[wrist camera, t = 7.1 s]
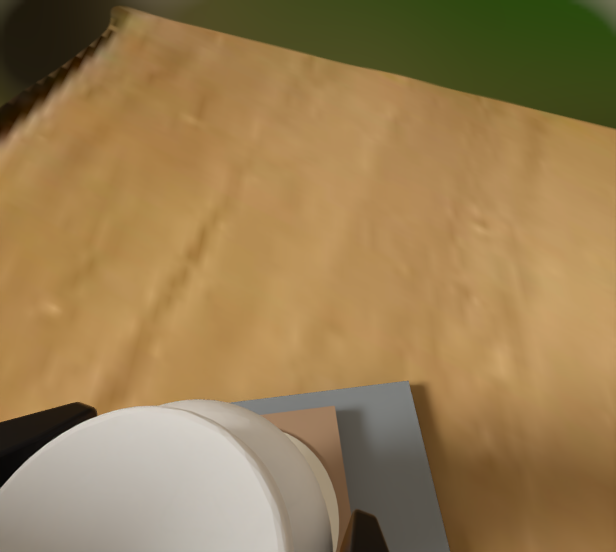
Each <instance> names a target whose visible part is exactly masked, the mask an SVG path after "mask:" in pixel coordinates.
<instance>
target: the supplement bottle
mask: <svg viewBox="0 0 616 552" xmlns="http://www.w3.org/2000/svg"><path fill="white" fill-rule="evenodd" d="M0 552H333V541H332V533H331V524H330V520H329V515H328V511H327V507H326V503H325V500H324V498H323V495H322V492H321V489H320V486H319V483H318V481H317V479H316V477H315V475H314V473H313V471H312V469H311V467H310V465H309V463H308V462H307V461H306V459H305V457H304V456H303V454H302V453H301V452H300V450H299V449H298V448H297V447H296V445H295V444H294V443H293V442H292V441H291V440H290V439H289V438H288V437H287V436H286V435H285V434H284V433H283V432H282V431H281V430H280V429H279V428H278V427H277V426H275V425H274V424H272V423H271V422H270V421H268V420H267V419H266V418H264V417H262V416H261V415H259V414H257V413H255V412H253V411H250V410H248V409H246V408H243V407H241V406H238V405H234V404H231V403H227V402H222V401H216V400H202V399H195V400H183V401H176V402H171V403H166V404H163V405H160V406H137V407H130V408H124V409H119V410H116V411H112V412H109V413H105V414H102V415H100V416H97V417H94V418H91V419H89V420H87V421H85V422H82V423H80V424H78V425H76V426H75V427H73V428H71V429H69V430H68V431H66V432H64V433H62V434H61V435H59V436H58V437H56V438H55V439H53V440H52V441H50V442H49V443H47V444H46V445H45V446H43V447H42V448H41V449H40V450H39V451H37V452H36V453H35V454H34V455H33V456H31V457H30V458H29V459H28V460H27V461H26V462H25V463H24V464H23V465H22V466H21V467H20V468H19V469H18V470H17V471H15V473H14V474H13V475H12V476H11V477H10V478H9V479H8V480H7V482H6V483H5V484H4V485H3V486H2V487H1V488H0Z"/></svg>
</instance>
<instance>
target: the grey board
mask: <svg viewBox="0 0 616 552" xmlns="http://www.w3.org/2000/svg"><path fill="white" fill-rule="evenodd" d="M231 404H234V405H238V406H241V407H243V408H246V409H248V410H250V411H253V412H255V413H257V414H259V415H261V416H262V417H264V418H266V419H267V420H268V421H270V422H271V423H272V424H274V425H275V426H277V427H278V428H279V429H280V430H281V431H282V432H283V433H284V434H285V435H286V436H287V437H288V438H289V439H290V440H291V441H292V442H293V443H294V444H295V445H296V447H297V448H298V449H299V450H300V452H301V453H302V454H303V456H304V457H305V459H306V461H307V462H308V463H309V465H310V467H311V469H312V471H313V473H314V475H315V477H316V479H317V481H318V483H319V486H320V489H321V492H322V495H323V498H324V500H325V503H326V507H327V511H328V515H329V520H330V524H331V533H332V541H333V552H340V548H341V545H342V541H343V538H344V535H345V533H346V530H347V527H348V524H349V521H350V518H351V515H352V513H353V511H354V510H355V509H360V510H363V511H366V512H368V513H371V514H373V515H375V516H376V517H377V519H378V522H379V525H380V527H381V530H382V533H383V535H384V538H385V541H386V543H387V546H388V549H389V551H390V552H450V549H449V545H448V541H447V537H446V533H445V529H444V524H443V520H442V516H441V512H440V508H439V504H438V500H437V496H436V492H435V488H434V484H433V479H432V475H431V471H430V467H429V463H428V459H427V455H426V451H425V447H424V443H423V439H422V434H421V430H420V426H419V422H418V418H417V414H416V410H415V406H414V402H413V398H412V394H411V389H410V385H409V381H402V382H394V383H386V384H378V385H370V386H362V387H354V388H346V389H338V390H330V391H321V392H313V393H305V394H297V395H289V396H281V397H273V398H265V399H257V400H249V401H241V402H232V403H231Z"/></svg>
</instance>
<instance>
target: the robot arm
mask: <svg viewBox="0 0 616 552" xmlns="http://www.w3.org/2000/svg"><path fill="white" fill-rule="evenodd" d="M94 417H97V411H96V409H95V408H94V407H91V406H89V405H86V404H84V403H80V402H75V403H71V404H67V405H63V406H59V407H56V408H52V409H48V410H45V411H41V412H37V413H33V414H30V415H26V416H22V417H18V418H15V419H11V420H7V421H4V422H0V488H1V487H2V486H3V485H4V484H5V483H6V482H7V480H8V479H9V478H10V477H11V476H12V475H13V474H14V473H15V471H17V470H18V469H19V468H20V467H21V466H22V465H23V464H24V463H25V462H26V461H27V460H28V459H29V458H30V457H31V456H33V455H34V454H35V453H36V452H37V451H39V450H40V449H41V448H42V447H43V446H45V445H46V444H47V443H49V442H50V441H52V440H53V439H55V438H56V437H58V436H59V435H61V434H62V433H64V432H66V431H68V430H69V429H71V428H73V427H75V426H76V425H78V424H80V423H82V422H85V421H87V420H89V419H91V418H94ZM340 552H390V551H389V549H388V546H387V543H386V541H385V538H384V535H383V533H382V530H381V527H380V525H379V522H378V519H377V517H376V516H375V515H373V514H371V513H368V512H366V511H363V510H360V509H355V510H354V511H353V513H352V515H351V518H350V521H349V524H348V527H347V530H346V533H345V535H344V538H343V541H342V545H341V548H340Z"/></svg>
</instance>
